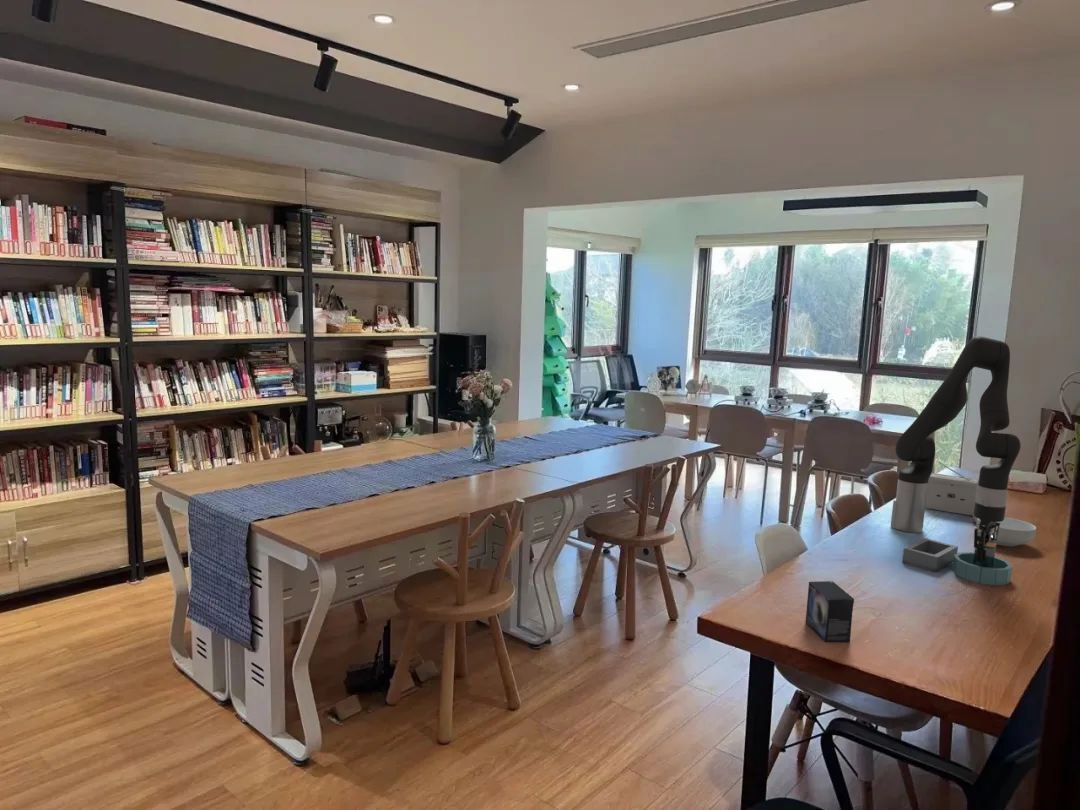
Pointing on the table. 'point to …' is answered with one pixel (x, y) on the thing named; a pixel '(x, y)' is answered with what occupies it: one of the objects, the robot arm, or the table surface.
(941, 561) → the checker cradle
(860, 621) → the table surface
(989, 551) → the cell
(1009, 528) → the cereal bowl
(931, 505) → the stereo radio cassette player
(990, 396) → the robot arm
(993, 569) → the cup
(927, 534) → the table surface
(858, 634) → the table surface
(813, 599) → the small box
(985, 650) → the table surface
